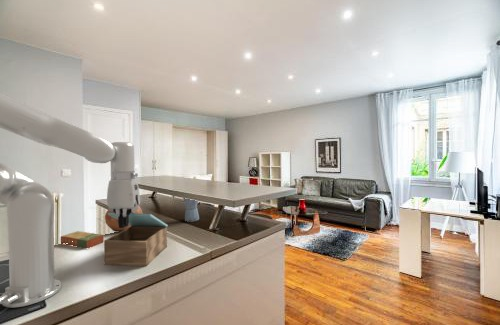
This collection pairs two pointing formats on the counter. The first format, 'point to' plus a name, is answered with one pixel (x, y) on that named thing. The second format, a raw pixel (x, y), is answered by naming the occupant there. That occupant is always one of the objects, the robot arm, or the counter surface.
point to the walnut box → (135, 246)
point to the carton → (82, 239)
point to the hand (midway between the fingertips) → (123, 226)
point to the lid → (142, 220)
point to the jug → (114, 222)
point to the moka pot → (191, 210)
